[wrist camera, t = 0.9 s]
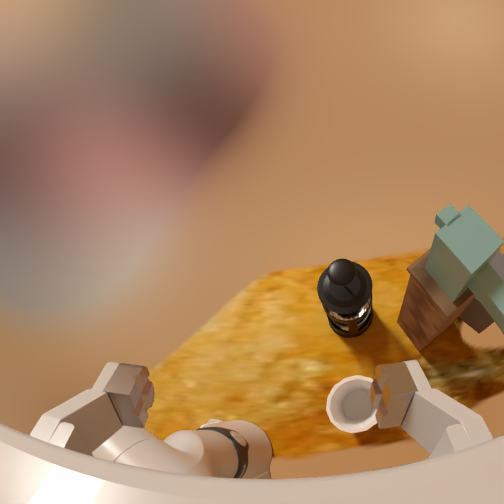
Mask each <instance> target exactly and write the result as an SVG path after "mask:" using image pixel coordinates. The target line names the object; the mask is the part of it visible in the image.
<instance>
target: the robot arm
mask: <svg viewBox="0 0 504 504" xmlns="http://www.w3.org/2000/svg"><path fill="white" fill-rule="evenodd" d="M374 374H375V377H376V379H375V380H374V381H373V382H372V384H371V389H370V398H371V403H372V406H373V407H374V408H375V409H377V411H376V414H375V417H376V420H377V423H378V427H379V429H384V428H391V427H398V426H401V428H402V429H403V430H404V431H406V432H407V433H408V434H409V435H410V436H411V437H412V438H413V439H414V440H415V441H417V442H418V443H419V444H420V445H421V446H422V447H423V448H424V449H425V450H426V451H428V452H429V453H430V454H431V455H430V457H429V458H428V459H427V460H423V461H419V462H415V463H411V464H406V465H401V466H396V467H391V468H386V469H380V470H374V471H368V472H361V473H354V474H346V475H338V476H337V475H336V476H327V477H314V478H296V479H271V474H270V464H271V460H272V447H271V443H270V441H269V439H268V437H267V435H266V434H265V433H264V432H263V431H262V430H261V429H260V428H259V427H258V426H256V425H255V424H253V423H250V422H247V421H243V420H233V421H222V420H219V419H211V420H210V421H209V422H208V423H207V424H205V425H202V426H201V427H200V428H199V429H196V430H182V431H177V432H175V433H173V434H171V435H170V436H168V437H167V438H166V439H165V440H164V441H162V440H161V439H159V438H157V437H156V436H155V435H154V434H152V433H151V432H150V431H148V430H147V429H146V428H145V427H144V426H145V423H146V420H147V418H148V413H147V409H149V408H150V407H152V404H153V401H154V387H153V383H152V382H151V381H150V380H149V379H148V377H149V371H148V368H147V367H145V366H138V365H131V364H124V363H115V362H109V363H107V364H106V366H105V367H104V369H103V371H102V372H101V374H100V375H99V377H98V379H97V381H96V382H95V384H94V386H93V388H92V389H87V390H85V391H84V392H82V393H80V394H78V395H77V396H75V397H73V398H71V399H70V400H68V401H66V402H64V403H62V404H61V405H59V406H57V407H55V408H54V409H52V410H50V411H48V412H46V413H44V414H43V415H42V416H41V418H40V419H39V421H38V423H37V424H36V426H35V427H34V429H33V431H32V432H31V434H30V435H26V434H24V433H21V432H19V431H17V430H14V429H12V428H10V427H7V426H5V425H2V424H0V504H504V435H502V436H499V437H497V438H494V439H493V437H492V435H491V433H490V431H489V429H488V427H487V426H486V424H485V422H484V420H483V418H482V416H481V415H479V414H477V413H476V412H474V411H472V410H471V409H469V408H467V407H466V406H464V405H462V404H461V403H459V402H457V401H456V400H454V399H452V398H451V397H449V396H447V395H446V394H444V393H442V392H441V391H439V390H437V389H436V388H435V389H432V388H431V386H430V384H429V382H428V380H427V378H426V376H425V374H424V372H423V371H422V369H421V367H420V365H419V363H418V361H416V360H410V361H403V362H397V363H389V364H381V365H377V366H376V368H375V372H374Z"/></svg>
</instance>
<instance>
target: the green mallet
mask: <svg viewBox="0 0 504 504" xmlns="http://www.w3.org/2000/svg"><path fill="white" fill-rule="evenodd" d="M435 223H436V224H437V225H438V226H439V227H440V230H439V231H438V232H436V233H435V236H434V240H433V244H432V247H431V250H430V253H429V256H428V260H427V263H426V266H425V269H426V271H427V272H428V273H429V274H430V275H431V276H432V278H433V279H434V280H435V281H436V283H437V284H438V285H439V286H440V287H441V289H442V290H443V291H444V292H445V294H446V295H447V296H448V297H449V299H450V300H451V301H452V302H454V301H455V300H456V299H457V298H458V297H460V296H461V295H462V294H463V293H464V292H465V291H466V290H467V289H468V288H469V289H470V290H471V291H472V293H473V294H474V295H475V296H476V298H477V299H478V300H479V301H480V303H481V304H482V305H483V307H484V308H485V309H486V310H487V312H488V313H489V314H490V316H491V317H492V318H493V320H494V321H495V323H496V324H497V325H498V327H499V328H500V329H501V331H502V332H503V334H504V281H503V280H502V279H501V277H500V276H499V275H498V274H497V272H496V271H495V270H494V269H493V268H492V267H491V265H490V263H491V261H492V260H493V258H494V257H495V255H496V253H497V252H498V250H499V249H500V247H501V246H502V244H503V242H504V241H503V240H502V239H501V238H500V237H499V236H498V235H497V234H496V232H495V231H494V230H493V229H492V228H491V227H490V226H489V225H488V224H487V223H486V222H485V221H484V220H483V219H482V218H481V217H480V216H479V215H478V214H477V213H476V212H475V211H474V210H473V209H472V208H471V207H470V206H469V205H468V206H467V207H466V208H465V209H463V210H462V211H461V212H460V213H459V212H458V211H457V210H456V209H455V208H454V207H453V206H452V205H451V204H449V205H448V206H446V207H445V208H444V209H443V210H442V211H440V212H439V213H438V214H437V215H436V219H435Z"/></svg>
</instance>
